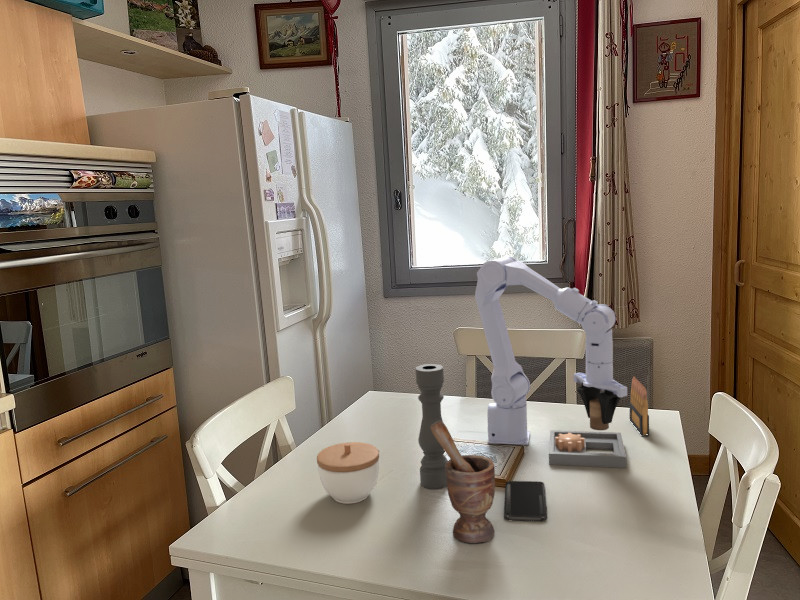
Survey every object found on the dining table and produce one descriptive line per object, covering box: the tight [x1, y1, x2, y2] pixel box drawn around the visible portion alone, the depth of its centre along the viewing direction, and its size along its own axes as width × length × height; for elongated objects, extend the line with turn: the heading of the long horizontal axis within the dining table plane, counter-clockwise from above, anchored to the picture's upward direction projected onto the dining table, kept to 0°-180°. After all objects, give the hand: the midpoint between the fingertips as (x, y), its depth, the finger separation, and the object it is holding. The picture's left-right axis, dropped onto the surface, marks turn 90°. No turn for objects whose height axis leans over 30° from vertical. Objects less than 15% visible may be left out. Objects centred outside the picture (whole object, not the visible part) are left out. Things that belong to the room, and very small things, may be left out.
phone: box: [503, 480, 548, 523], centre depth 126 cm, size 8×1×15 cm
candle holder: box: [415, 363, 449, 490], centre depth 135 cm, size 6×6×25 cm
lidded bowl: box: [316, 441, 380, 505], centre depth 132 cm, size 13×13×11 cm
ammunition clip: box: [628, 375, 650, 436], centre depth 159 cm, size 11×2×12 cm, turn 175°
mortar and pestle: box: [430, 420, 496, 544], centre depth 115 cm, size 12×9×20 cm
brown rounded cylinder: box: [589, 399, 610, 431], centre depth 145 cm, size 4×4×6 cm
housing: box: [548, 429, 627, 469], centre depth 147 cm, size 16×14×4 cm
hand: (599, 419), depth 145 cm, fingers closed on brown rounded cylinder, 4 cm apart
